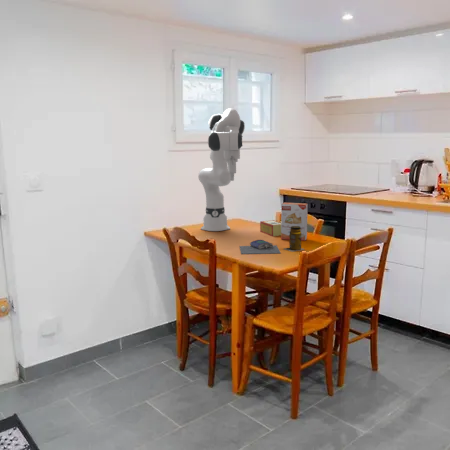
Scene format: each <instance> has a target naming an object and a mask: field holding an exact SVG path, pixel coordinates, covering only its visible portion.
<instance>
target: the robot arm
mask: <svg viewBox="0 0 450 450" xmlns="http://www.w3.org/2000/svg"><path fill="white" fill-rule="evenodd" d="M208 127H209V130H210V131H211V132H210V134H209V135H208V139H207V144H208V148H209V149H210V154H209V158H210V160H211V162H212V167H206V168H202V169H201V170H200V171H199V173H198V180H199V182H200V183H201V184H202V187H203V189H204V194H205V202H206V203H205V204H206V205H205V215H204V216H203V220H202V221H203V226H201V227H200V230H202V231H209V232H219V231H220V232H221V231H227V230H231V227H230V226H229V225H228V216H227V215H226V214H225V210H226V209H225V207H224V206H225V205H224V203H225V202H224V201H225V199H224V198H225V197H224V194H223V192H222V191H221V190H220V187H225V186H228V185H230V184H231V181H232V182H234V181H235V174H236V173H237V162H239V160H240V159H241V148H242V147H243V146H244V145H243V133H244V132H245V128H246V127H245V121H243V120H242V119H241V117H240V114H239V113H238V111H237V110H236V109H235V108H227V109H225V110H224V111H223V114H220V113H215V114H213V115H211V117H210V118H209V120H208Z"/></svg>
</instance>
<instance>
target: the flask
mask: <svg viewBox="0 0 450 450" xmlns="http://www.w3.org/2000/svg"><path fill="white" fill-rule="evenodd" d="M249 244H250V245H249V246H253V247H256V248H258V249H262V248H272V247H273V245H274V244H273V243H272V242H268V241H266V240H264V239H256V240H252V241H251V242H250V243H249Z"/></svg>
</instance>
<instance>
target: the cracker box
mask: <svg viewBox="0 0 450 450" xmlns="http://www.w3.org/2000/svg"><path fill="white" fill-rule="evenodd" d="M308 205H309V204H308V203H304V202H303V203H302V202H300V203H299V202H283V203H281V216H280V217H281V218H280V219H281V235H280V239H281V240H287V241H290V229H291V226H299V227H301V242H305V241H307V239H308V207H309V206H308Z"/></svg>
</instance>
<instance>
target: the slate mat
mask: <svg viewBox="0 0 450 450" xmlns="http://www.w3.org/2000/svg"><path fill="white" fill-rule="evenodd" d="M239 251H240V254H241V255H261V254H262V255H266V254H269V255H271V254H273V255H275V254H278V255H279V254H282V253H281V251H280V249H279V247H278V246H277V244H276V245H275V244H273V247H272V248H262V249H258V248H256V247H253V246H251V245H239Z"/></svg>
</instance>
